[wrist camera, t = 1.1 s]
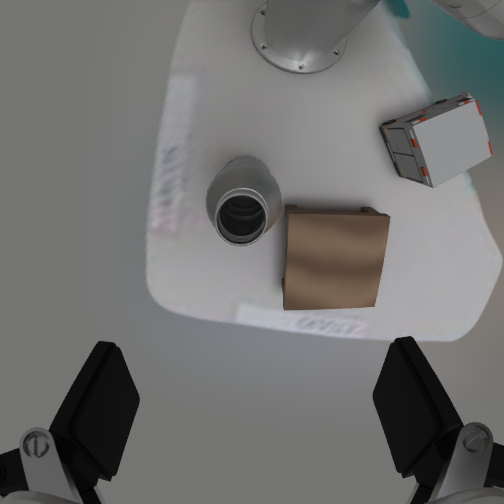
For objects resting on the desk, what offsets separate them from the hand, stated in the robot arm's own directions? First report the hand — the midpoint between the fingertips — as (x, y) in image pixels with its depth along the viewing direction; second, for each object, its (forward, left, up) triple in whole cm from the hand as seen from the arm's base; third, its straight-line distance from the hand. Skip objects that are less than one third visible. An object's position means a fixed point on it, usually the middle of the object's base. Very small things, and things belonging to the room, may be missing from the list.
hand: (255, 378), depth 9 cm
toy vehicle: (-11, +26, -32) cm, 43 cm away
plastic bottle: (-2, -1, -32) cm, 32 cm away
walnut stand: (+7, +11, -32) cm, 34 cm away
